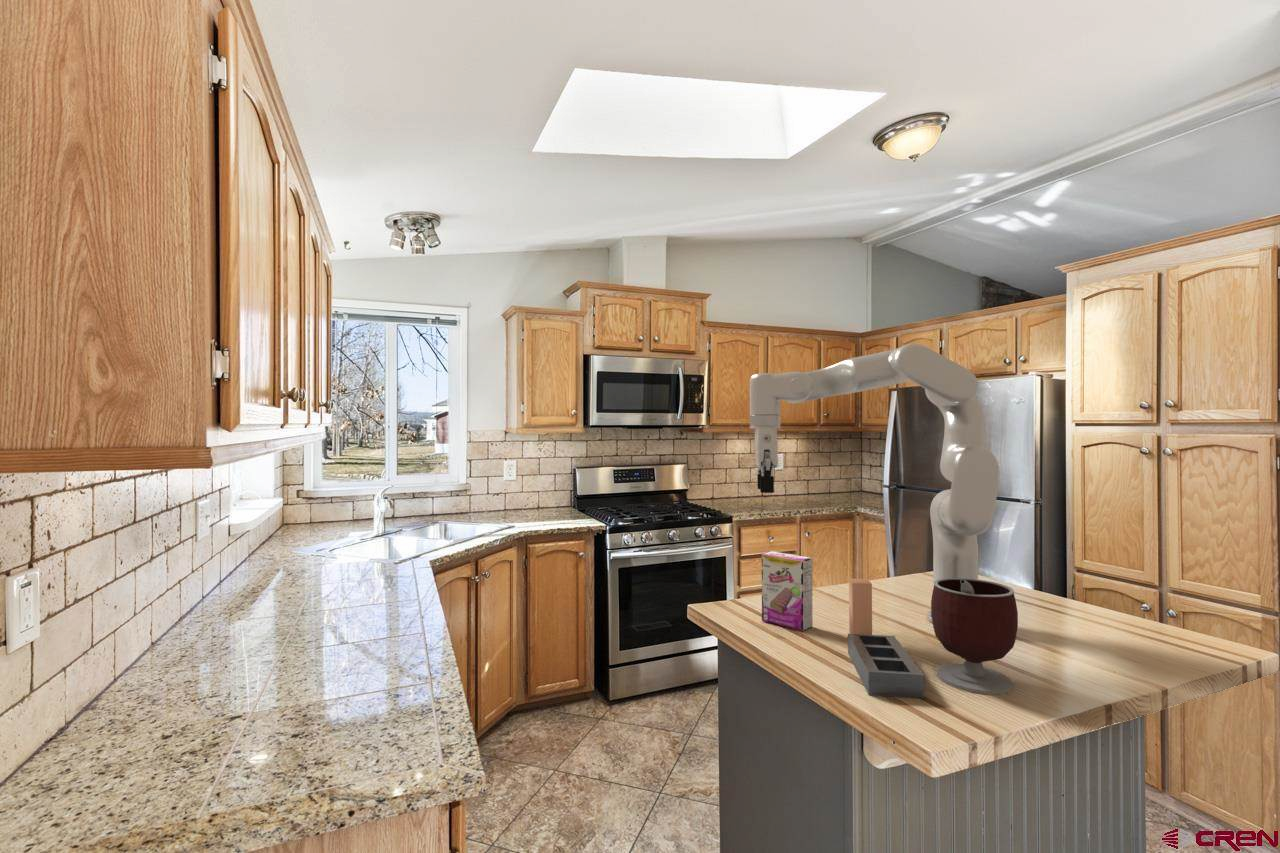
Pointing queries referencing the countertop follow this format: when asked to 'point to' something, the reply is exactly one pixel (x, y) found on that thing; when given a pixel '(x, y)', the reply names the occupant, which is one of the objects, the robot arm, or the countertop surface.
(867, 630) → the square peg
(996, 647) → the mate gourd
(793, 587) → the candy bar box
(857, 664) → the rail
